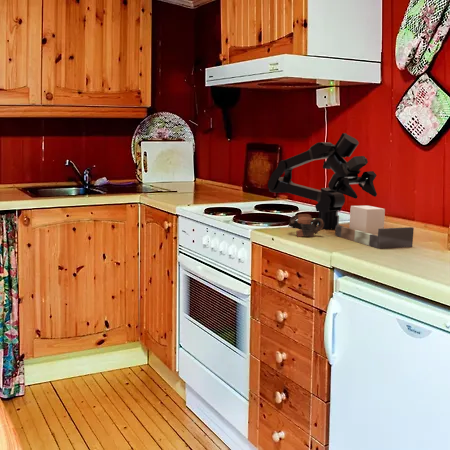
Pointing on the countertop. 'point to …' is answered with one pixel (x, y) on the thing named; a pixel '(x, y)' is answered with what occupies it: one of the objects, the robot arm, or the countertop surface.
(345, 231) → the box
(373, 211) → the block
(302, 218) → the pottery mug
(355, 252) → the countertop surface
